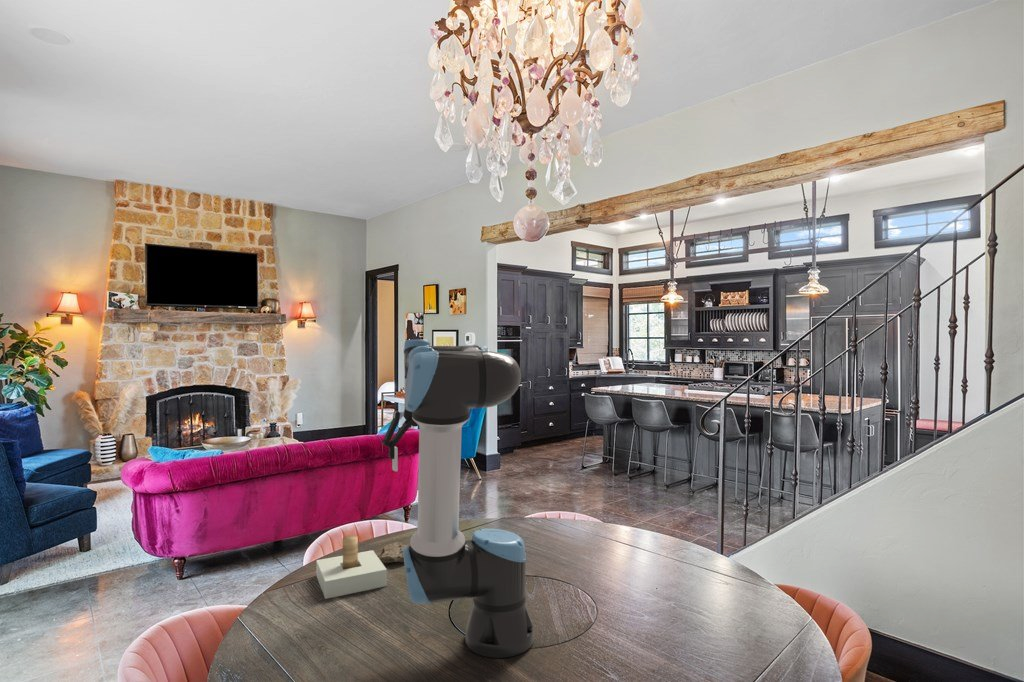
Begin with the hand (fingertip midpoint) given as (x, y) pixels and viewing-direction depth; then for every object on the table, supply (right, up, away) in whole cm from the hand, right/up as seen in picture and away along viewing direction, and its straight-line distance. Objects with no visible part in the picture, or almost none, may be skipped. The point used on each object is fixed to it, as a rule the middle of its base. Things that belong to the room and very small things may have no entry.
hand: (418, 467), depth 156 cm
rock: (-8, -31, +11) cm, 34 cm away
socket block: (-18, -31, -4) cm, 36 cm away
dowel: (-18, -31, -4) cm, 36 cm away
